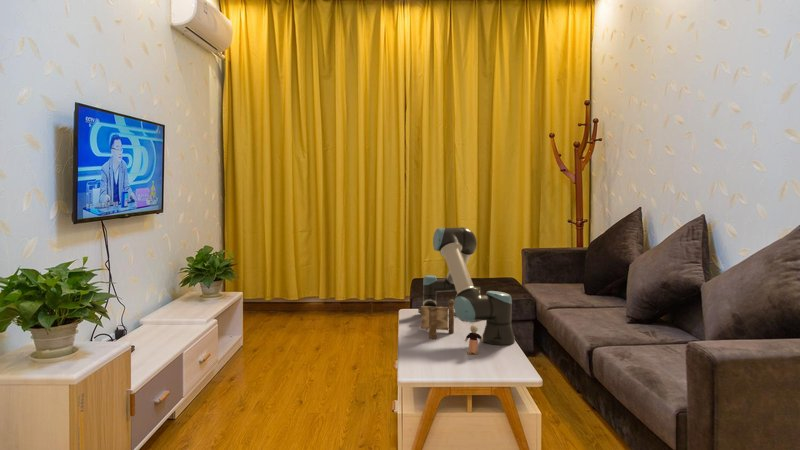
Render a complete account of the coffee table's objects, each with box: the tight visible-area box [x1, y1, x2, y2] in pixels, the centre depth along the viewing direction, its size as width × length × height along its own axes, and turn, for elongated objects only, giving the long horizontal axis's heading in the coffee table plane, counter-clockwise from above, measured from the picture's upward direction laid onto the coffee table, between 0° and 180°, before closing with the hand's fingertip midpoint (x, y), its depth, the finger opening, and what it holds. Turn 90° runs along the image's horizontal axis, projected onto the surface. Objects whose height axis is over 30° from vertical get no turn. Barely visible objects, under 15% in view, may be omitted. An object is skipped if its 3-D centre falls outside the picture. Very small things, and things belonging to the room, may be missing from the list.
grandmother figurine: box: [464, 324, 484, 355], centre depth 226 cm, size 8×4×13 cm, turn 89°
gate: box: [420, 305, 449, 331], centre depth 261 cm, size 14×2×11 cm, turn 76°
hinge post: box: [447, 298, 455, 335], centre depth 259 cm, size 3×3×17 cm
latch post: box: [428, 307, 438, 340], centre depth 249 cm, size 3×3×15 cm
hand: (430, 318), depth 263 cm, fingers closed
